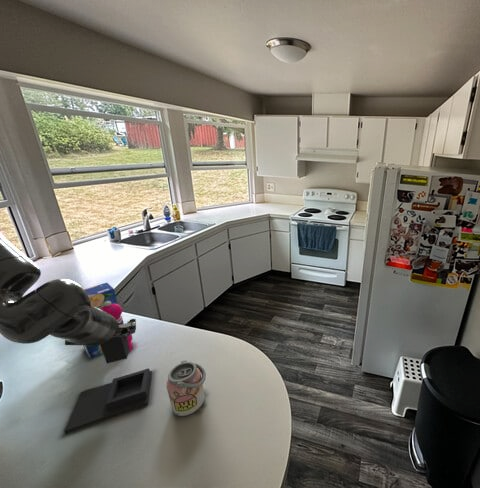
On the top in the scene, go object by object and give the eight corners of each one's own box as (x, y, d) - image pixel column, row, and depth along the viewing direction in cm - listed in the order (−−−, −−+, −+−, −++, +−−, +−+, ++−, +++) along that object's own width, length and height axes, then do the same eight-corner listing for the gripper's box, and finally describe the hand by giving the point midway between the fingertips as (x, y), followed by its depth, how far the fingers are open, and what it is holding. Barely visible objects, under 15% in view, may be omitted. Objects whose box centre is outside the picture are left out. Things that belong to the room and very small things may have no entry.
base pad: (65, 433, 62) (60, 424, 60) (81, 394, 71) (78, 385, 70) (147, 404, 69) (145, 395, 68) (152, 372, 79) (150, 364, 78)
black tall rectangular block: (105, 364, 66) (96, 336, 63) (110, 352, 70) (101, 326, 67) (127, 358, 68) (119, 331, 65) (130, 347, 72) (123, 321, 69)
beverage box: (84, 350, 87) (63, 295, 79) (122, 333, 95) (107, 282, 88) (90, 359, 83) (69, 302, 76) (129, 340, 92) (113, 288, 84)
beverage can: (210, 385, 75) (205, 354, 71) (208, 411, 68) (203, 378, 64) (175, 395, 72) (167, 363, 68) (169, 423, 65) (161, 389, 61)
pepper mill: (140, 345, 90) (126, 297, 83) (119, 360, 83) (103, 309, 76) (124, 341, 91) (110, 293, 85) (103, 355, 85) (86, 305, 78)
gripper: (128, 301, 59) (146, 316, 73) (45, 318, 53) (82, 330, 67) (129, 333, 57) (147, 342, 71) (42, 354, 50) (81, 359, 64)
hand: (115, 336), depth 69 cm, fingers closed on black tall rectangular block, 4 cm apart
